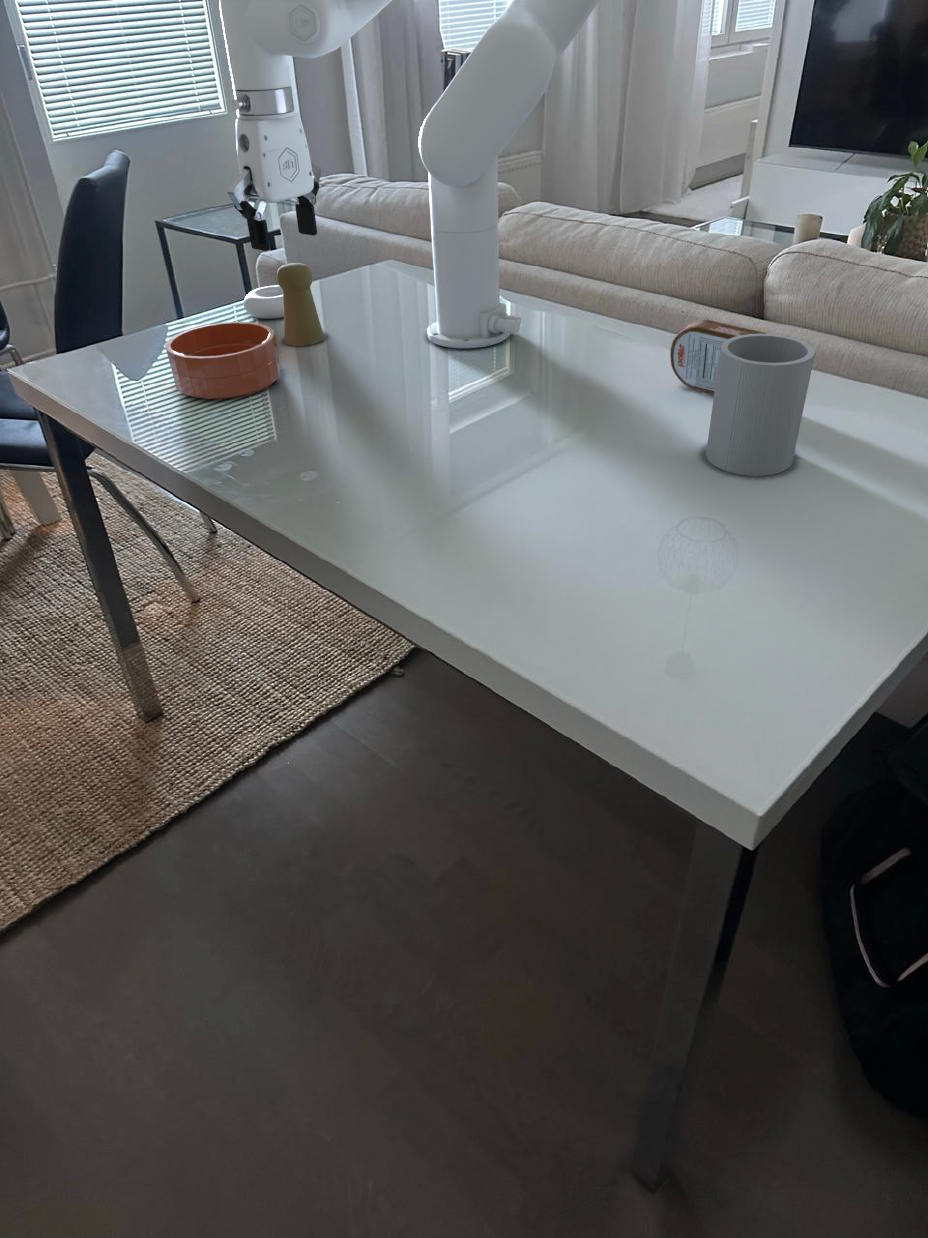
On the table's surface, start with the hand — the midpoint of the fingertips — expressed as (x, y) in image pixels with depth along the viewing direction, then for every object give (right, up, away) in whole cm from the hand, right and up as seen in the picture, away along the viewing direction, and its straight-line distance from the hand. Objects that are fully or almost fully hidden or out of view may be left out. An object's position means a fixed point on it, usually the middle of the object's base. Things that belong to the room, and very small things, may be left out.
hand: (285, 241), depth 123 cm
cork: (+1, -11, +9) cm, 14 cm away
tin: (+58, -26, -15) cm, 66 cm away
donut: (-6, -3, +20) cm, 22 cm away
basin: (-7, -21, -4) cm, 23 cm away
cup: (+57, -37, -29) cm, 74 cm away
